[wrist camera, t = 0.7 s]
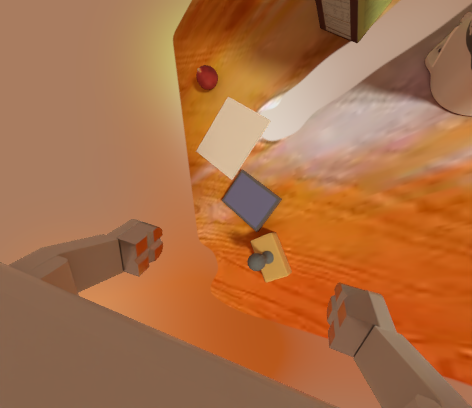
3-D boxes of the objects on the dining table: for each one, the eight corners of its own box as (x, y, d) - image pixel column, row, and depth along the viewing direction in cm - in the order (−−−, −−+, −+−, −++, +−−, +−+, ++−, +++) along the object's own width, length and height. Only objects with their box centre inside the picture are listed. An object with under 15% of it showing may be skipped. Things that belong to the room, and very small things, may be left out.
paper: (228, 97, 61) (228, 96, 61) (270, 121, 54) (270, 120, 54) (196, 151, 65) (196, 151, 65) (232, 180, 58) (231, 179, 58)
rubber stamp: (255, 239, 54) (232, 244, 43) (276, 231, 52) (256, 234, 41) (270, 279, 51) (248, 293, 41) (292, 272, 49) (275, 286, 39)
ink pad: (244, 170, 57) (241, 169, 56) (282, 199, 51) (280, 198, 50) (224, 201, 59) (221, 200, 58) (258, 231, 54) (255, 231, 52)
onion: (204, 84, 66) (186, 68, 59) (218, 71, 63) (201, 52, 56) (210, 98, 64) (193, 83, 57) (225, 85, 62) (209, 68, 55)
